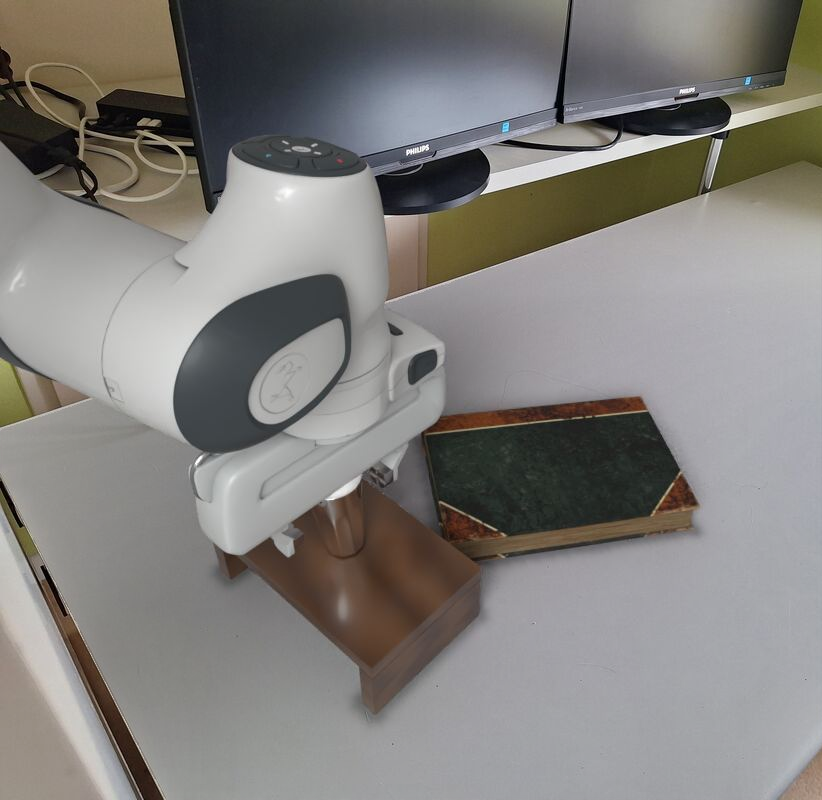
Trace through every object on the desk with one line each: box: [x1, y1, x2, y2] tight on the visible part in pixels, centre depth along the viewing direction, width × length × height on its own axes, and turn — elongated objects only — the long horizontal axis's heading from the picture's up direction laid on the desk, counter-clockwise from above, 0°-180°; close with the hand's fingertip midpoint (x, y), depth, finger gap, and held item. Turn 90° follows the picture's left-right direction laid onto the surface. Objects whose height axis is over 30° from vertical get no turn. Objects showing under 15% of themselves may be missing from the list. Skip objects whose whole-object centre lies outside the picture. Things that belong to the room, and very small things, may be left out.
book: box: [420, 395, 701, 563], centre depth 78 cm, size 17×4×25 cm
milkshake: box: [311, 473, 365, 557], centre depth 59 cm, size 5×5×10 cm
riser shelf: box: [212, 477, 483, 715], centre depth 65 cm, size 12×20×7 cm, turn 52°
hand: (339, 512), depth 60 cm, fingers open, 8 cm apart
